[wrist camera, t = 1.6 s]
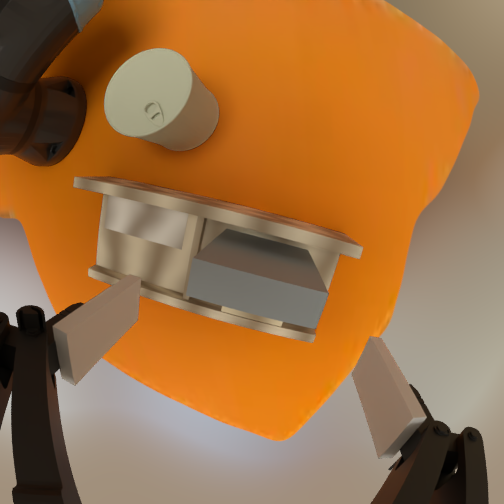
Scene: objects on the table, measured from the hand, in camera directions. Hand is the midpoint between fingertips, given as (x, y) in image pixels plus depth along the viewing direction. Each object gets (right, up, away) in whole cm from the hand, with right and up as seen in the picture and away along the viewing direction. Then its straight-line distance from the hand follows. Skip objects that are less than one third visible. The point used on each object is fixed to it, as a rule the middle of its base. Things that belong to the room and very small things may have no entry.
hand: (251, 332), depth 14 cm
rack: (-6, +4, +21) cm, 22 cm away
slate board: (+2, +4, +19) cm, 20 cm away
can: (-8, +21, +17) cm, 29 cm away
